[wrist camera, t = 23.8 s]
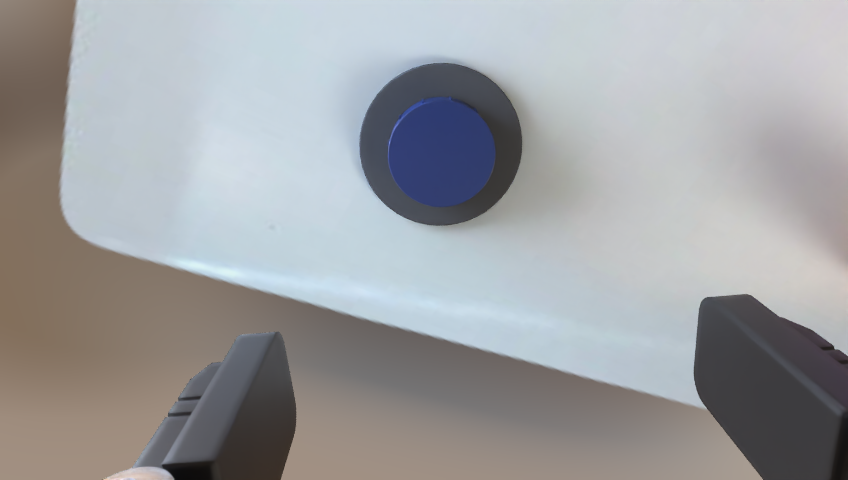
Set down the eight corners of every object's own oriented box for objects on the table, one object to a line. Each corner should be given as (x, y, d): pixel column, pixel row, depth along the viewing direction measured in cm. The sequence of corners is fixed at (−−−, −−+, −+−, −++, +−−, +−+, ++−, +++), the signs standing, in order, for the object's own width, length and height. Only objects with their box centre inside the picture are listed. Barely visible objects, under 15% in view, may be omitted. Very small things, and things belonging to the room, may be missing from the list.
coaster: (475, 246, 34) (476, 249, 33) (335, 184, 32) (334, 187, 32) (549, 107, 31) (551, 108, 31) (400, 33, 30) (400, 33, 29)
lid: (415, 78, 30) (415, 81, 28) (509, 123, 31) (514, 129, 29) (373, 173, 32) (370, 181, 30) (463, 213, 33) (466, 224, 31)
